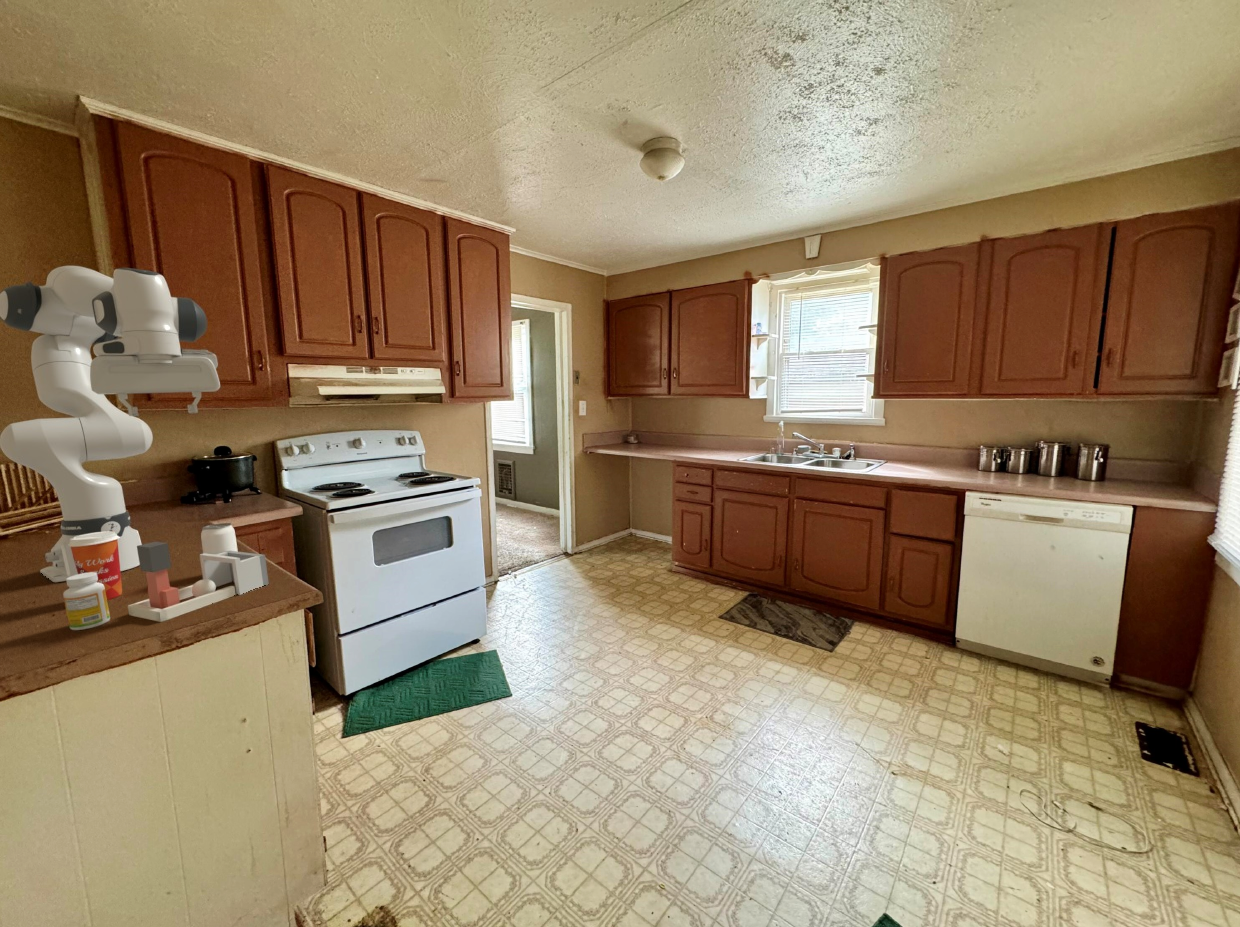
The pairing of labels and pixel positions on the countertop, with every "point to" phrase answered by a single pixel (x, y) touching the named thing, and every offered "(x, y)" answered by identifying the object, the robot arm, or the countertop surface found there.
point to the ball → (203, 587)
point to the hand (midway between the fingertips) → (164, 414)
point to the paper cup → (99, 559)
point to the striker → (157, 574)
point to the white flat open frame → (156, 614)
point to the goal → (235, 569)
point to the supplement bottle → (85, 602)
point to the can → (218, 538)
